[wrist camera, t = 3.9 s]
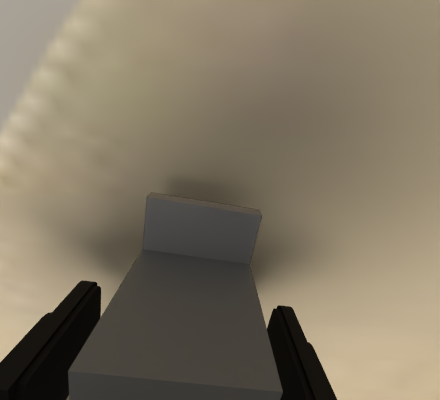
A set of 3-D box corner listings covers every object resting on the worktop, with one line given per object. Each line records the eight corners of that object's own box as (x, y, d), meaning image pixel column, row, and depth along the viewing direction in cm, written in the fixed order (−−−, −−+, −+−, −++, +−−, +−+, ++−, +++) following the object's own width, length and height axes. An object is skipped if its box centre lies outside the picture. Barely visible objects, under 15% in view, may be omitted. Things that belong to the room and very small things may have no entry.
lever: (169, 175, 11) (2, 337, 2) (246, 188, 11) (349, 375, 3) (151, 339, 14) (54, 658, 6) (212, 346, 14) (207, 659, 6)
